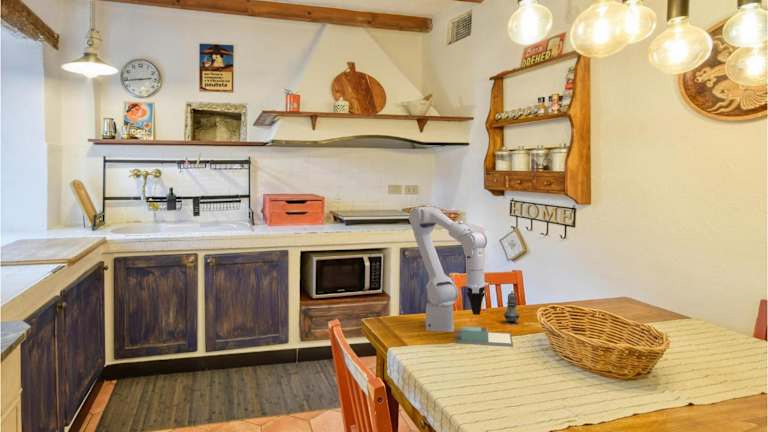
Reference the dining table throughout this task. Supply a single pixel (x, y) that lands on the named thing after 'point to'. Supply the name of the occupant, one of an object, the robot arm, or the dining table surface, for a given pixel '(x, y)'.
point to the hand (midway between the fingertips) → (476, 311)
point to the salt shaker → (511, 310)
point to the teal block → (474, 334)
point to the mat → (489, 339)
